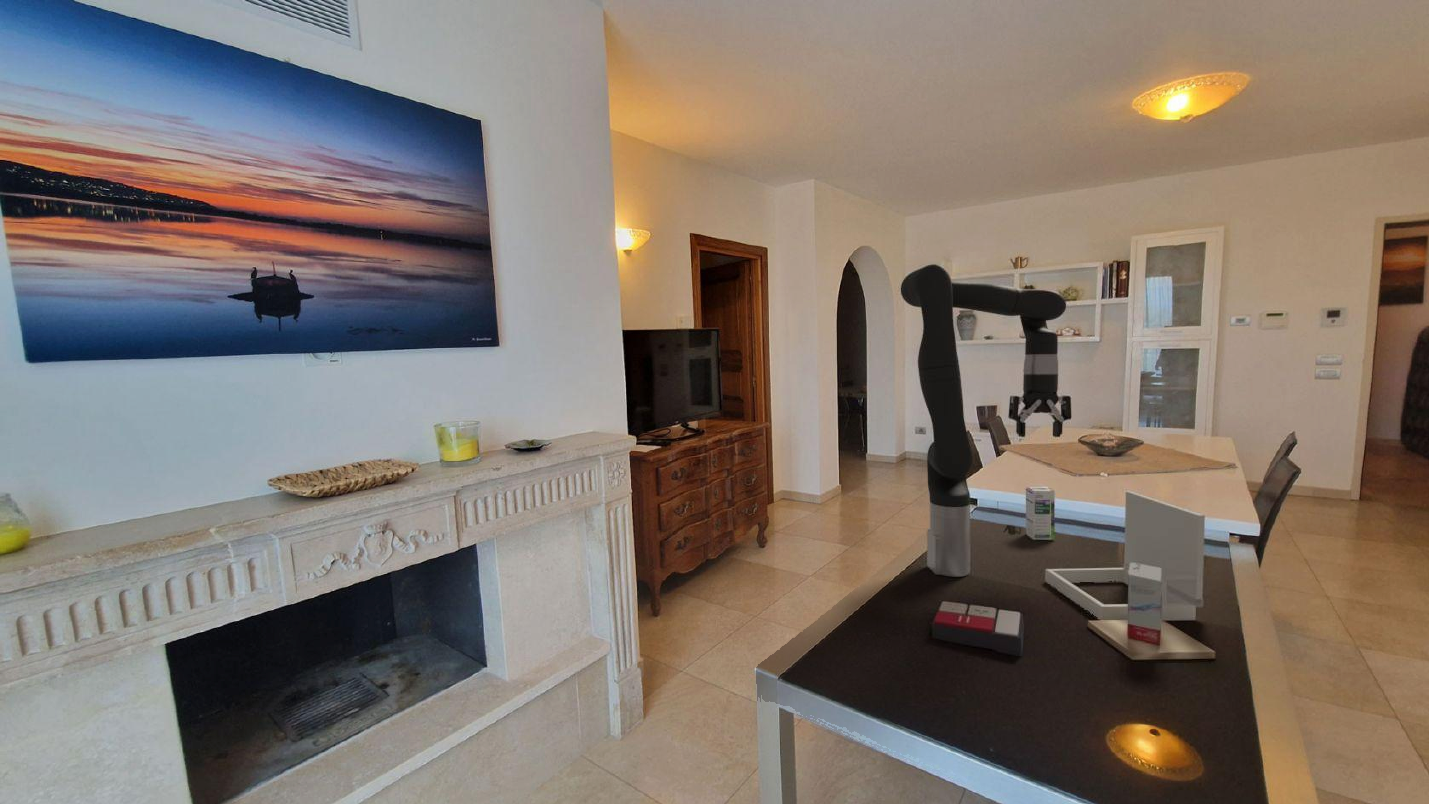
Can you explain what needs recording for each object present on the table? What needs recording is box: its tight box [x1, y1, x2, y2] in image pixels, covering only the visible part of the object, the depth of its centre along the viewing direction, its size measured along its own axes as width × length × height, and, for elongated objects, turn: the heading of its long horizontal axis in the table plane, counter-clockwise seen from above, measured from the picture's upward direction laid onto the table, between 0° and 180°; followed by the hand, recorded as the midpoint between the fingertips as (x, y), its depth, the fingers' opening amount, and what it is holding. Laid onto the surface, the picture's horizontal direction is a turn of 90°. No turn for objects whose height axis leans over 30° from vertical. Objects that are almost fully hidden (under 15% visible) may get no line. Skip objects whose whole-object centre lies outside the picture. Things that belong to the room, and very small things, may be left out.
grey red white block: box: [931, 600, 1025, 657], centre depth 106 cm, size 11×4×15 cm
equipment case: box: [1044, 490, 1206, 622], centre depth 118 cm, size 19×20×21 cm
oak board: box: [1087, 619, 1216, 661], centre depth 102 cm, size 14×12×1 cm
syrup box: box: [1025, 486, 1056, 541], centre depth 160 cm, size 6×6×14 cm
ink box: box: [1127, 563, 1162, 645], centre depth 102 cm, size 9×5×12 cm, turn 141°
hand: (1039, 436), depth 140 cm, fingers open, 8 cm apart
